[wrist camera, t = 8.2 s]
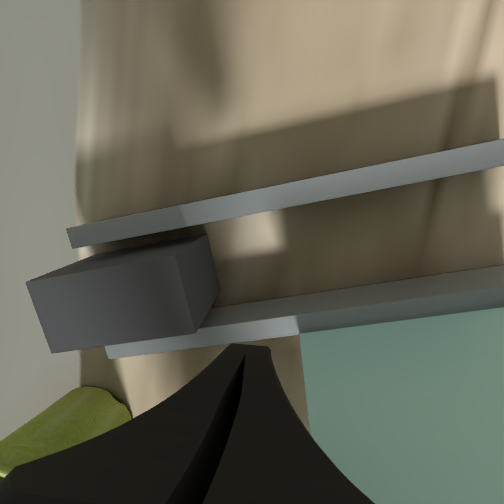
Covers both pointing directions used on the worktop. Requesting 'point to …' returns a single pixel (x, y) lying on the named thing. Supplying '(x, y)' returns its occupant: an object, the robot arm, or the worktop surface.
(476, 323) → the cover
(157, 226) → the grey frame
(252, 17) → the worktop surface
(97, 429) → the plant pot
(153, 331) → the block
